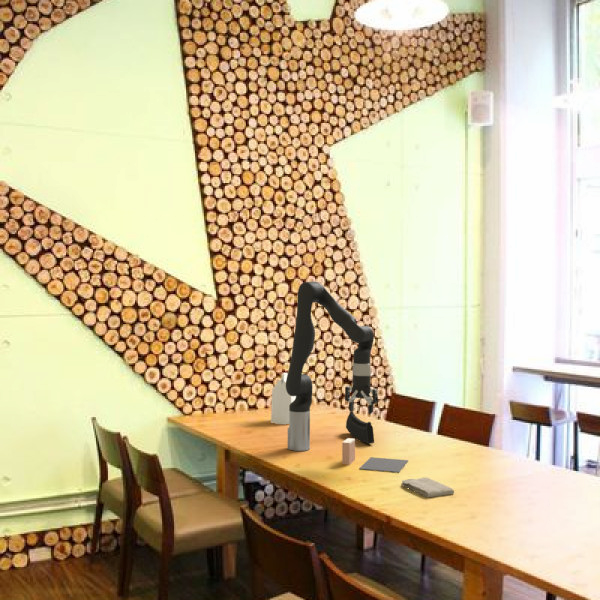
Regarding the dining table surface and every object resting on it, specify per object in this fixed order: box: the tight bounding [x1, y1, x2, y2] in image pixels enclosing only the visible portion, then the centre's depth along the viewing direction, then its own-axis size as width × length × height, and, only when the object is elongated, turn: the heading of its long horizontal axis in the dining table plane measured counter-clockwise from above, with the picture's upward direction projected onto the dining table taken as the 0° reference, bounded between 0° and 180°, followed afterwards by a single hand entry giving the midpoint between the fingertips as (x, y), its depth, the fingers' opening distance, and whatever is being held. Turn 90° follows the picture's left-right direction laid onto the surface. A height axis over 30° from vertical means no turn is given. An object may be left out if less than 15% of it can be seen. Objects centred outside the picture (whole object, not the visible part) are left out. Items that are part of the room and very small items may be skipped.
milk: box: [270, 372, 296, 425], centre depth 391 cm, size 12×12×26 cm
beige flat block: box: [341, 437, 356, 466], centre depth 304 cm, size 3×9×9 cm, turn 161°
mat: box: [358, 456, 409, 474], centre depth 299 cm, size 16×20×1 cm
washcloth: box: [400, 476, 455, 498], centre depth 264 cm, size 12×18×3 cm, turn 26°
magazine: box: [345, 411, 375, 445], centre depth 349 cm, size 17×3×30 cm
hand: (361, 412), depth 306 cm, fingers open, 8 cm apart
